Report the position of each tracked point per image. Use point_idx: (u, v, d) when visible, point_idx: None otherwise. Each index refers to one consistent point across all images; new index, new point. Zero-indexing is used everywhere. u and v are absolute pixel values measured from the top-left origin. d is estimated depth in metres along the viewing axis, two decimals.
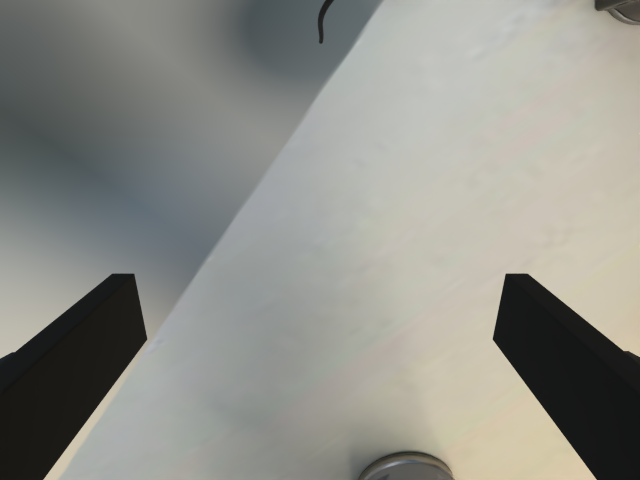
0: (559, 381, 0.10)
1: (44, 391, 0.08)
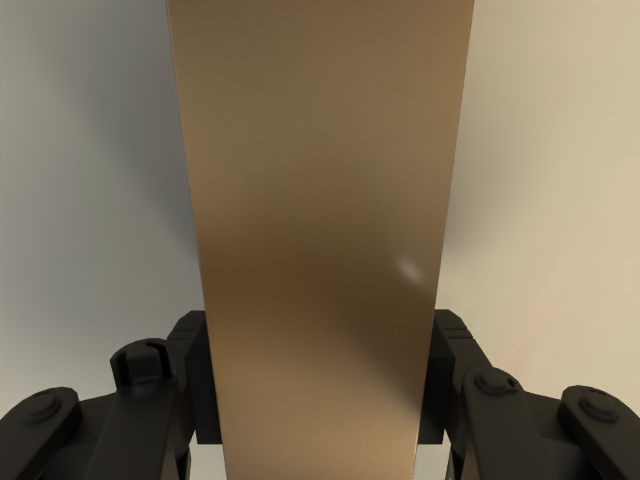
0: None
1: None
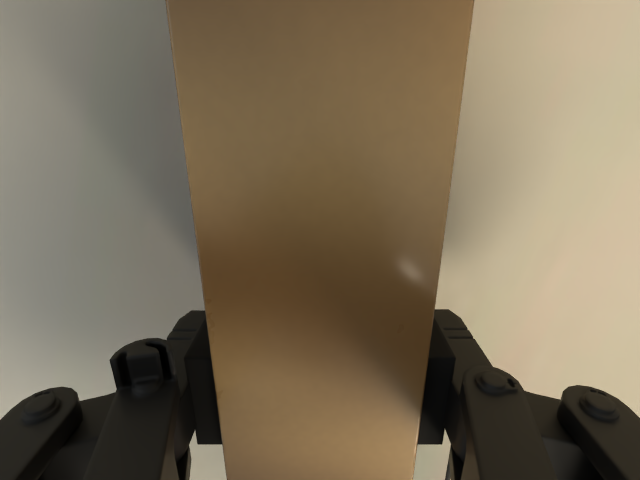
0: None
1: None
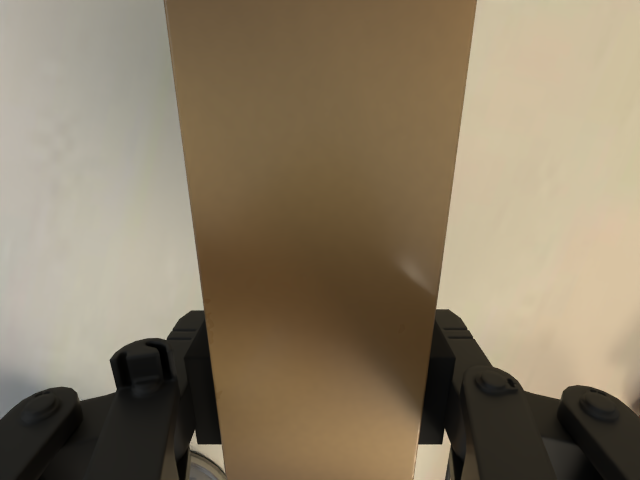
0: None
1: None
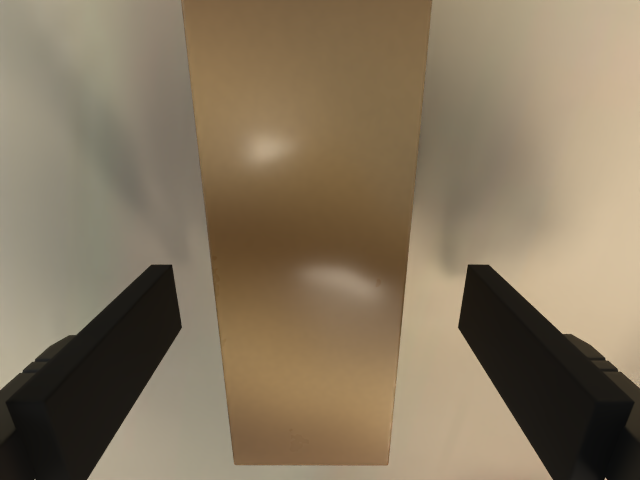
0: (507, 362, 0.10)
1: (105, 369, 0.09)
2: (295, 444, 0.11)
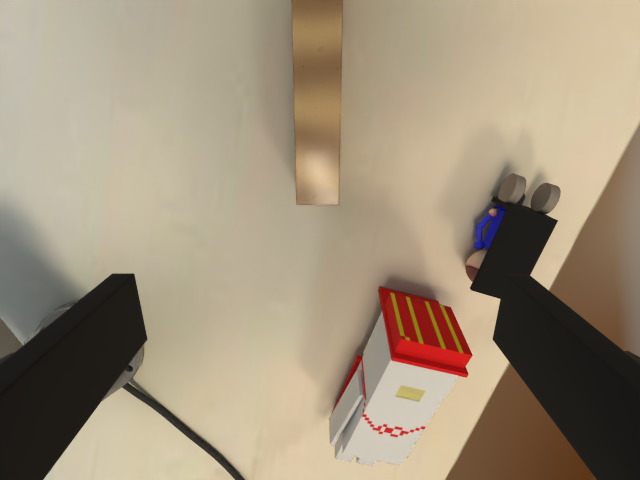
0: (559, 381, 0.10)
1: (44, 391, 0.08)
2: (313, 197, 0.40)
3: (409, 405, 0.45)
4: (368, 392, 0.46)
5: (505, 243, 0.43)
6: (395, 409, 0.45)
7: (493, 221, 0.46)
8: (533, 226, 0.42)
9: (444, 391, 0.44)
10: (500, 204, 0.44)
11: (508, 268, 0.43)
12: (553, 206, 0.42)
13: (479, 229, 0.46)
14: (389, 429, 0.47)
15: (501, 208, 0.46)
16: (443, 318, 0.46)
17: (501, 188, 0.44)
